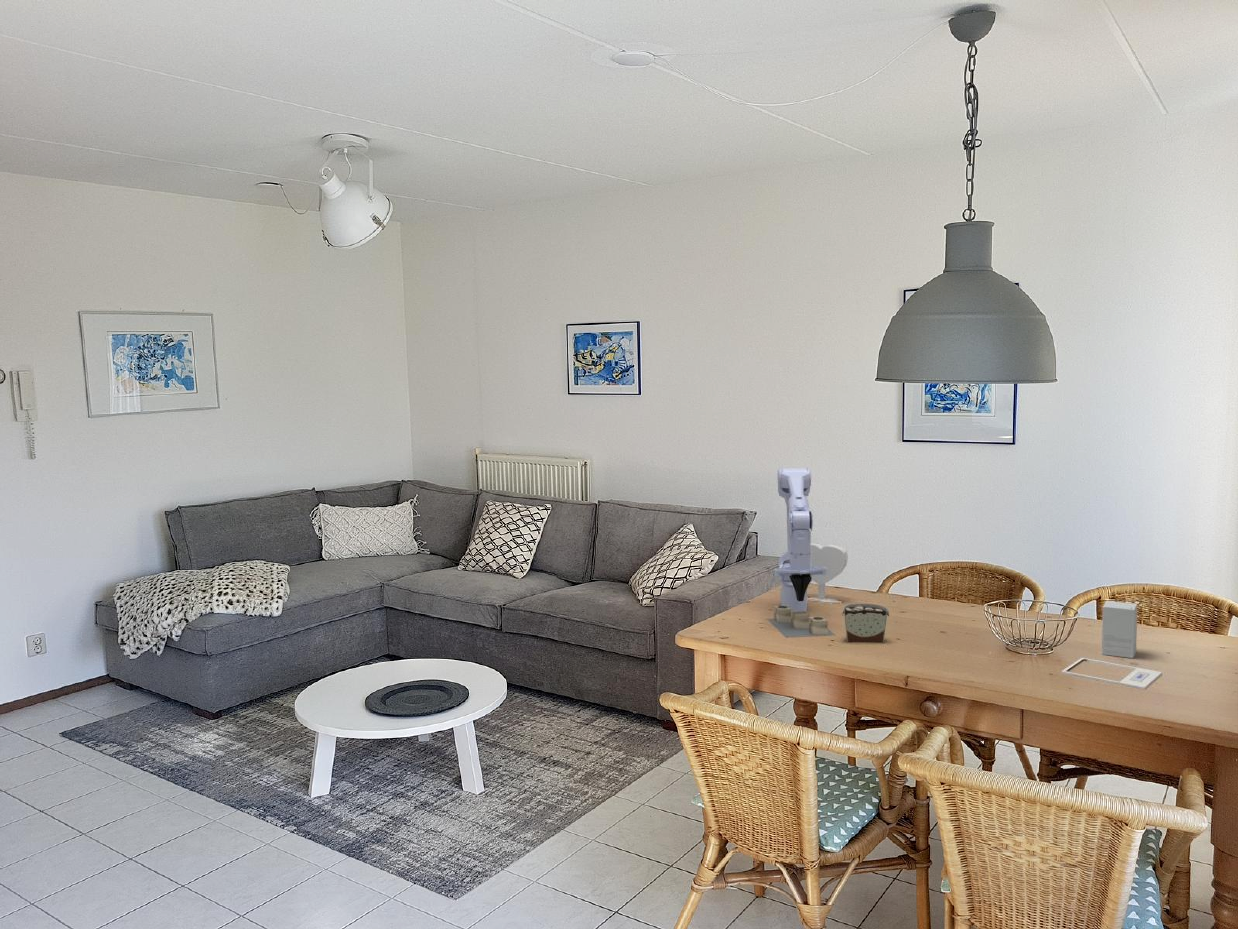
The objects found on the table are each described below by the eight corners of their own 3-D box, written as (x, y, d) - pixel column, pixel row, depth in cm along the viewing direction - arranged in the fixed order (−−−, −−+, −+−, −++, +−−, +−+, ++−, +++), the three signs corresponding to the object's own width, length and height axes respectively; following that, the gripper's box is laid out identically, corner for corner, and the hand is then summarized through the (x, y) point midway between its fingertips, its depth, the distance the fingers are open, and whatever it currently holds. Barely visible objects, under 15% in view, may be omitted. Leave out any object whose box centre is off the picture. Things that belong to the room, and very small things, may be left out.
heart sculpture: (848, 601, 302) (848, 545, 300) (843, 604, 297) (844, 547, 296) (800, 596, 309) (800, 541, 307) (795, 599, 305) (795, 544, 303)
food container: (885, 639, 259) (885, 603, 258) (889, 645, 253) (889, 608, 252) (838, 638, 260) (839, 602, 259) (841, 645, 254) (842, 608, 253)
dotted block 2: (808, 631, 265) (809, 616, 264) (822, 630, 265) (822, 616, 265) (813, 635, 261) (813, 620, 260) (827, 634, 261) (827, 619, 261)
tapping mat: (766, 621, 279) (766, 618, 279) (812, 619, 280) (812, 616, 280) (786, 640, 259) (786, 637, 259) (835, 638, 261) (835, 635, 261)
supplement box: (1136, 651, 244) (1138, 603, 243) (1133, 659, 238) (1135, 609, 237) (1104, 647, 248) (1106, 600, 247) (1100, 654, 242) (1102, 606, 241)
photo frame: (1144, 686, 216) (1061, 670, 228) (1144, 691, 216) (1061, 675, 228) (1161, 671, 226) (1081, 656, 238) (1161, 676, 226) (1081, 661, 238)
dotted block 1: (774, 619, 278) (774, 605, 278) (787, 618, 278) (787, 604, 278) (777, 622, 274) (777, 608, 274) (791, 622, 274) (791, 608, 274)
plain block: (791, 625, 271) (791, 611, 271) (804, 624, 272) (804, 610, 271) (795, 628, 267) (795, 615, 267) (809, 628, 268) (809, 614, 268)
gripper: (779, 556, 263) (779, 605, 264) (829, 554, 264) (829, 602, 266) (772, 552, 270) (772, 599, 271) (821, 550, 271) (821, 596, 273)
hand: (800, 600), depth 269 cm, fingers closed
